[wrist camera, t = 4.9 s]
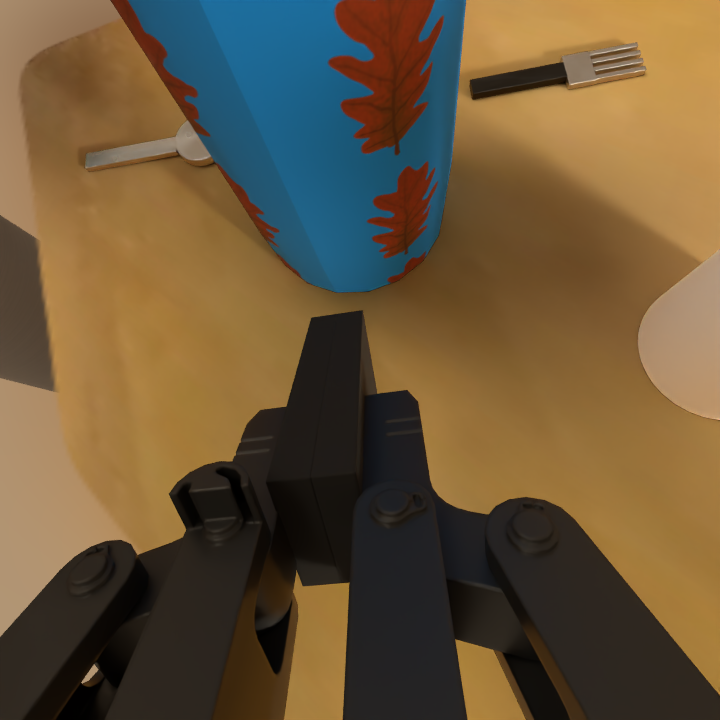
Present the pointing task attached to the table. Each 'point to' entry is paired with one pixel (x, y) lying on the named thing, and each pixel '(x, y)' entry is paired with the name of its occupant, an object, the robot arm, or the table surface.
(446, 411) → the table surface
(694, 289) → the cylindrical container
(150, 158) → the metal disc paddle
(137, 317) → the table surface
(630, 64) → the fork
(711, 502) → the table surface
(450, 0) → the thermos
